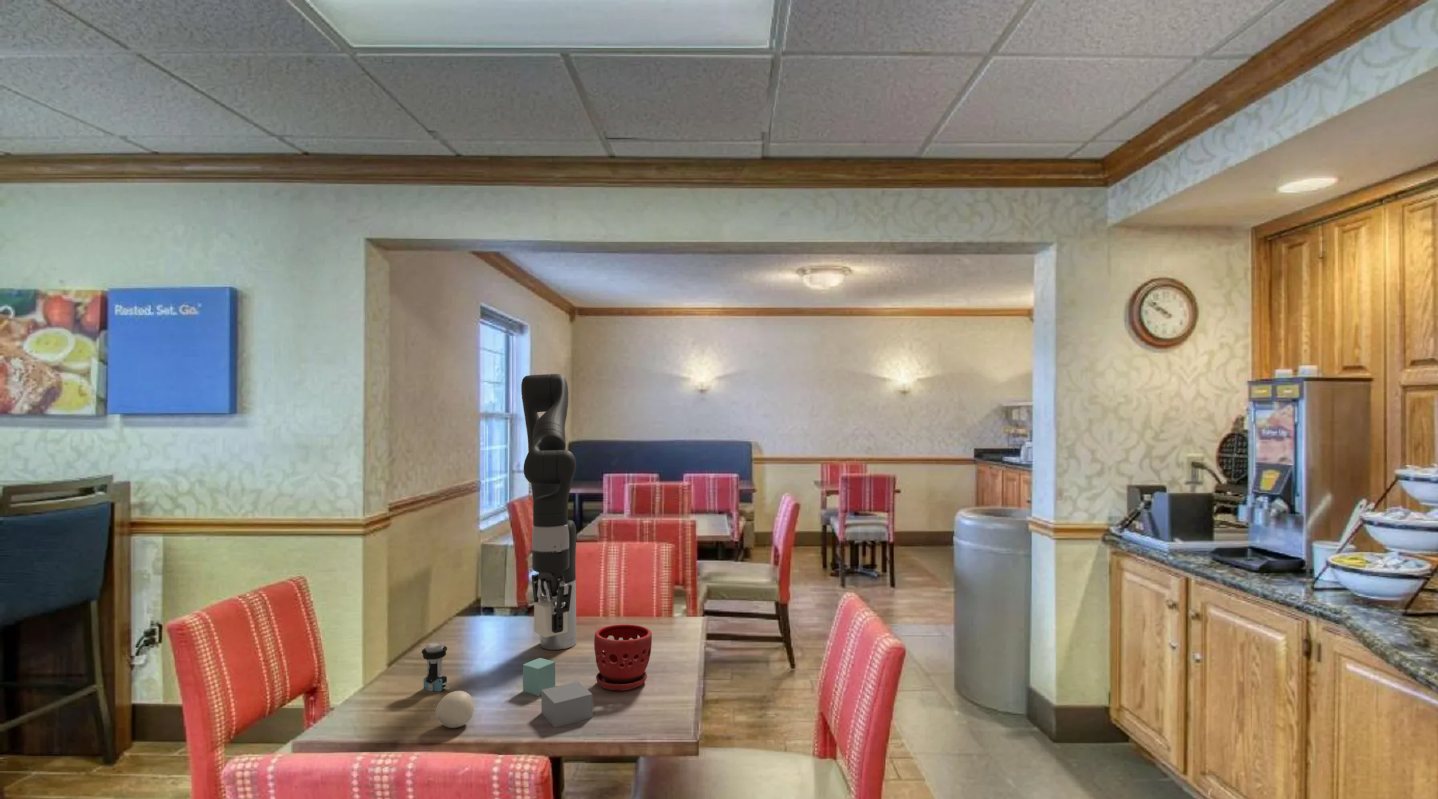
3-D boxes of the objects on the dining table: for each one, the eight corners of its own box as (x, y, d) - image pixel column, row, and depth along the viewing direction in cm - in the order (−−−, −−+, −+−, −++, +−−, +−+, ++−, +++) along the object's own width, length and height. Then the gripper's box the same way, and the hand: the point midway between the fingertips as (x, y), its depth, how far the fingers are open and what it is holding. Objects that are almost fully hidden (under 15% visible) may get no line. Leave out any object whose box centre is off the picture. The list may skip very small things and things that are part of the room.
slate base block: (541, 714, 145) (541, 689, 145) (577, 704, 150) (577, 681, 150) (554, 728, 139) (554, 703, 139) (592, 718, 143) (592, 693, 143)
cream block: (534, 631, 145) (534, 602, 145) (556, 626, 148) (556, 598, 148) (545, 637, 141) (545, 607, 141) (567, 632, 144) (567, 603, 144)
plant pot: (627, 699, 152) (627, 644, 152) (582, 687, 159) (582, 634, 159) (663, 679, 163) (662, 627, 163) (619, 668, 170) (619, 619, 170)
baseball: (438, 720, 142) (438, 687, 142) (475, 716, 144) (475, 684, 144) (432, 735, 136) (432, 701, 136) (471, 731, 137) (471, 697, 137)
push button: (457, 686, 160) (456, 642, 160) (441, 695, 155) (441, 650, 155) (432, 683, 162) (432, 640, 162) (416, 692, 157) (416, 647, 157)
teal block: (523, 691, 157) (522, 664, 157) (540, 683, 161) (539, 657, 161) (538, 696, 154) (538, 668, 154) (555, 688, 158) (555, 661, 158)
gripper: (519, 544, 148) (519, 625, 148) (549, 554, 137) (550, 641, 137) (551, 539, 153) (552, 618, 152) (583, 548, 142) (584, 633, 141)
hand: (551, 628), depth 144 cm, fingers closed on cream block, 5 cm apart
